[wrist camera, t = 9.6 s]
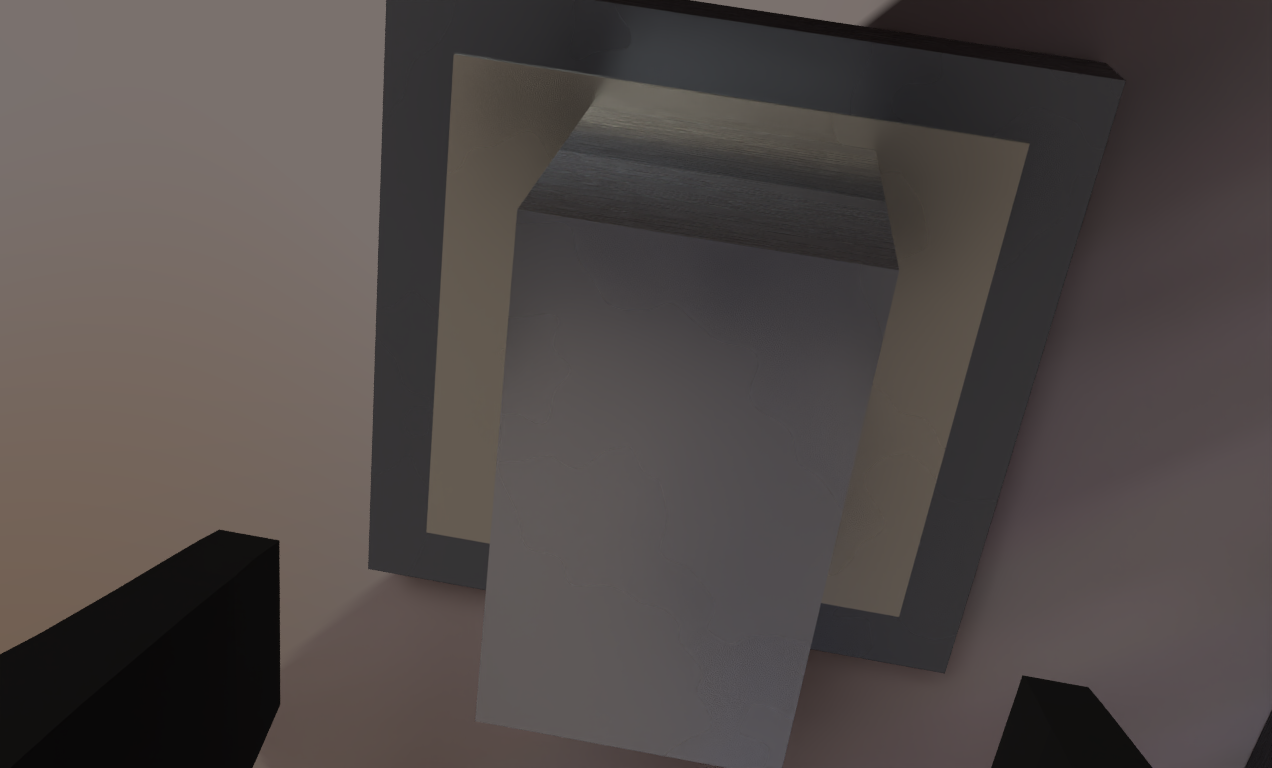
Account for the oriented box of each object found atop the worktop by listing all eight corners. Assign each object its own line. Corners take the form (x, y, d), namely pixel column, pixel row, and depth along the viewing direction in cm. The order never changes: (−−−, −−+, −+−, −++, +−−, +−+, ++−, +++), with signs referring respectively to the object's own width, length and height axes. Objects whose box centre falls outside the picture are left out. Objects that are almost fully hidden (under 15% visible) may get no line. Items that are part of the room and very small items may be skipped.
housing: (785, 566, 20) (780, 778, 16) (546, 524, 20) (475, 721, 16) (875, 149, 17) (899, 270, 12) (590, 105, 17) (517, 208, 13)
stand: (937, 629, 21) (945, 675, 20) (389, 531, 22) (367, 570, 21) (1105, 63, 17) (1126, 80, 16) (413, -42, 18) (386, -32, 16)
